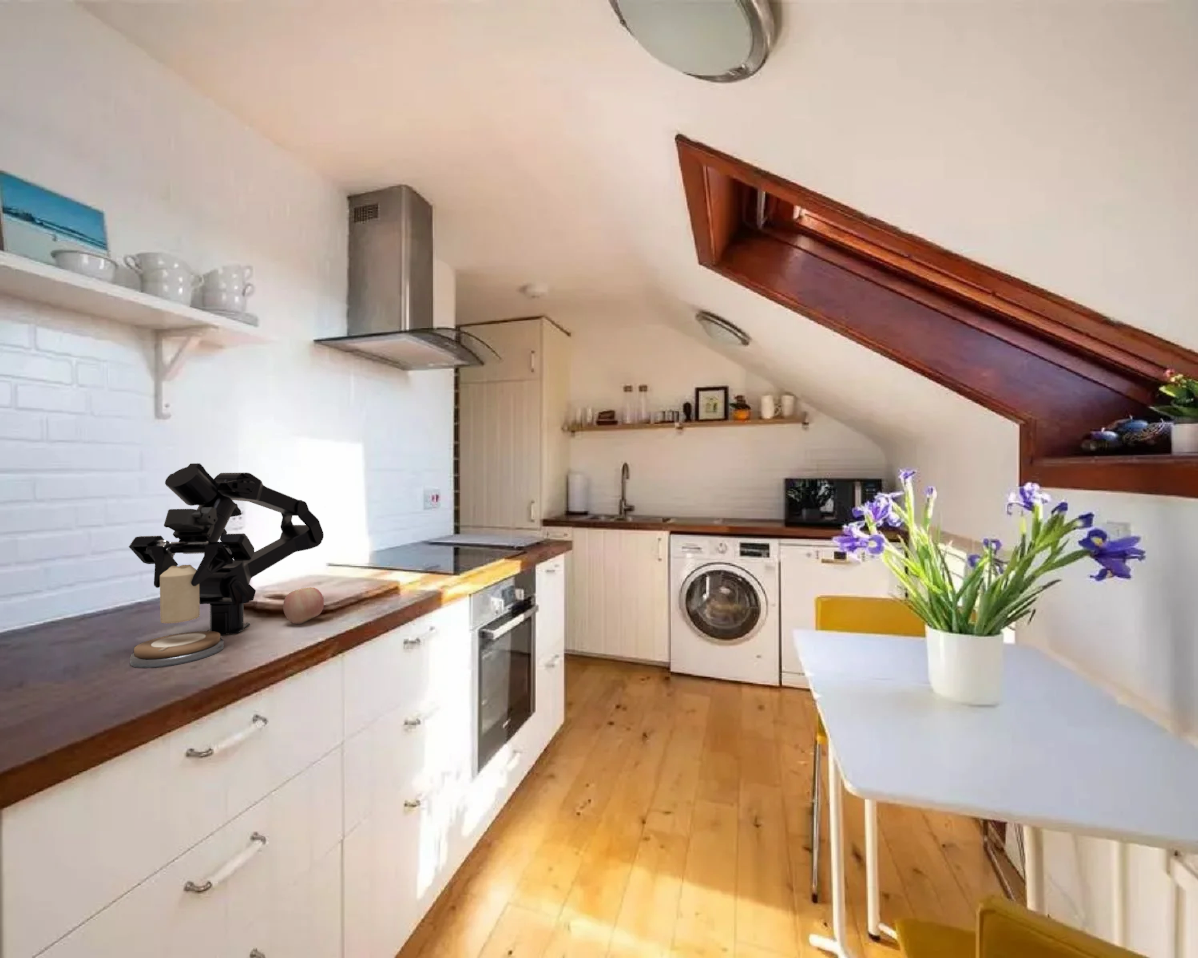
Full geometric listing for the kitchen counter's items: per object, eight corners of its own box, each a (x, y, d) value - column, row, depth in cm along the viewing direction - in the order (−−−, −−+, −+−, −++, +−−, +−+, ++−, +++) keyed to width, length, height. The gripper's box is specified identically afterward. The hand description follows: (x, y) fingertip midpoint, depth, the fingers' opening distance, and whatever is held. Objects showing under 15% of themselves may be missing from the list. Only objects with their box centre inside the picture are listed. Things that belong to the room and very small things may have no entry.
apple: (327, 616, 114) (327, 583, 114) (319, 625, 106) (319, 589, 106) (288, 620, 111) (288, 585, 111) (278, 629, 104) (277, 592, 104)
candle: (176, 624, 86) (175, 568, 86) (152, 623, 87) (151, 568, 87) (207, 615, 91) (206, 563, 91) (183, 614, 92) (183, 562, 92)
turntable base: (157, 646, 93) (157, 640, 93) (235, 639, 97) (235, 634, 97) (111, 671, 81) (111, 664, 81) (202, 663, 85) (202, 656, 85)
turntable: (159, 639, 93) (159, 633, 93) (231, 634, 96) (231, 627, 96) (116, 661, 82) (116, 654, 82) (200, 654, 85) (200, 647, 85)
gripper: (135, 494, 91) (87, 562, 80) (246, 492, 95) (214, 557, 84) (165, 530, 99) (124, 597, 88) (266, 528, 103) (238, 592, 92)
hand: (174, 585), depth 88 cm, fingers closed on candle, 5 cm apart
